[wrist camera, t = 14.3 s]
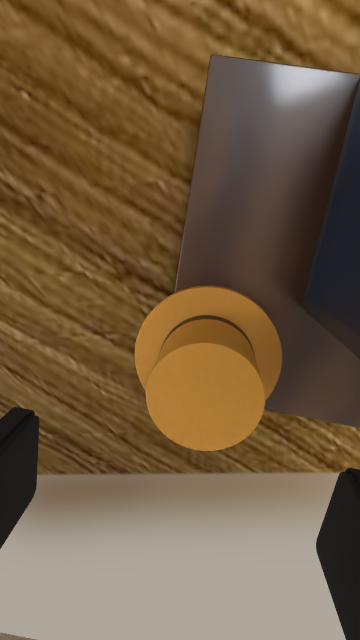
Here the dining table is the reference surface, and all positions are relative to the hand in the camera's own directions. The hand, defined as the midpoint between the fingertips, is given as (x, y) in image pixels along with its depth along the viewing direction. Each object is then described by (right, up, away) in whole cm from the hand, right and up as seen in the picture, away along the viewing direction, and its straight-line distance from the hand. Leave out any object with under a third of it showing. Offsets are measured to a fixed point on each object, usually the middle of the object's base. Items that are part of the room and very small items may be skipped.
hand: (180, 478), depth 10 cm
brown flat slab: (+8, +9, +13) cm, 17 cm away
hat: (+2, +3, +11) cm, 11 cm away
